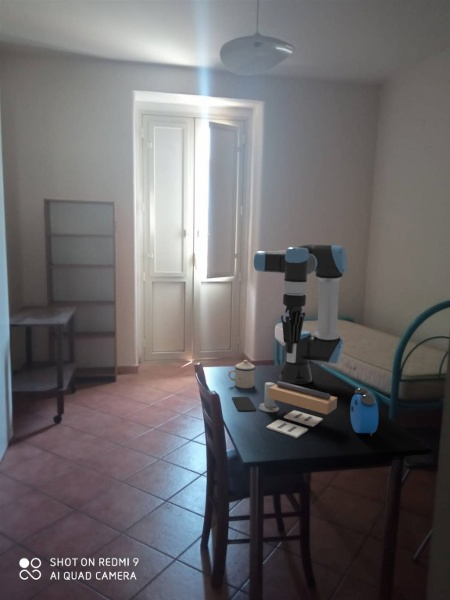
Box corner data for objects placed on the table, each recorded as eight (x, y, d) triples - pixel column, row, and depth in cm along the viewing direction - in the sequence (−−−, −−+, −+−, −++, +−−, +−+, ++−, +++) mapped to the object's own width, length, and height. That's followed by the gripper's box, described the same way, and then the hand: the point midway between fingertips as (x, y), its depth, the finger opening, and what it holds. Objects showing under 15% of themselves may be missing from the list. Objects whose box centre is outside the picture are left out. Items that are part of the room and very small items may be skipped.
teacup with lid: (252, 382, 206) (253, 357, 205) (256, 388, 197) (257, 363, 196) (226, 382, 205) (227, 357, 203) (229, 389, 196) (230, 363, 194)
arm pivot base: (265, 403, 181) (265, 401, 180) (282, 408, 176) (282, 406, 176) (254, 408, 174) (254, 406, 174) (272, 414, 169) (272, 412, 169)
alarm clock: (377, 440, 150) (380, 397, 148) (358, 439, 150) (362, 397, 148) (365, 424, 163) (368, 384, 161) (348, 423, 163) (351, 384, 161)
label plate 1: (278, 421, 163) (278, 419, 163) (307, 430, 156) (307, 428, 156) (266, 427, 157) (266, 426, 157) (296, 438, 150) (296, 436, 150)
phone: (248, 396, 187) (256, 409, 172) (248, 398, 187) (256, 412, 172) (231, 397, 185) (238, 410, 171) (231, 398, 185) (238, 412, 171)
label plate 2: (294, 411, 173) (294, 409, 173) (322, 420, 166) (322, 418, 165) (283, 417, 166) (283, 415, 166) (312, 426, 159) (313, 424, 159)
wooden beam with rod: (259, 407, 173) (260, 380, 171) (270, 401, 179) (271, 375, 178) (326, 427, 156) (328, 398, 155) (335, 420, 162) (337, 392, 161)
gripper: (294, 291, 157) (290, 356, 161) (275, 294, 147) (271, 363, 150) (313, 293, 153) (309, 360, 156) (295, 296, 142) (291, 368, 146)
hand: (290, 361), depth 153 cm, fingers closed
